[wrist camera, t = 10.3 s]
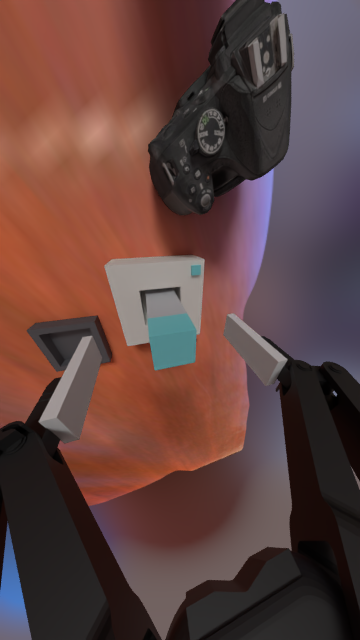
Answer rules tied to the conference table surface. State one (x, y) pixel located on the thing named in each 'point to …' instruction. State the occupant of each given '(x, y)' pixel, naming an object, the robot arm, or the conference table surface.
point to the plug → (169, 329)
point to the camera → (229, 112)
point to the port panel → (154, 274)
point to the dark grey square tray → (68, 339)
